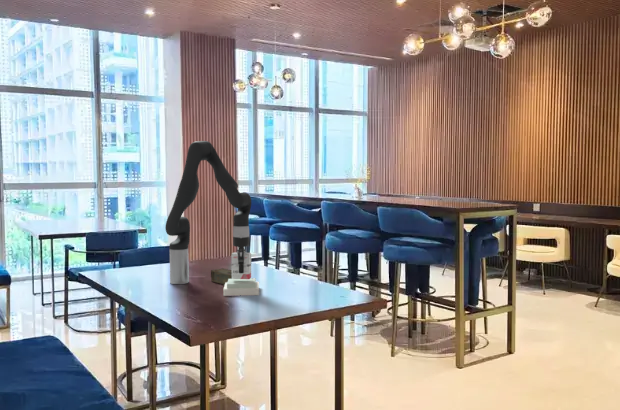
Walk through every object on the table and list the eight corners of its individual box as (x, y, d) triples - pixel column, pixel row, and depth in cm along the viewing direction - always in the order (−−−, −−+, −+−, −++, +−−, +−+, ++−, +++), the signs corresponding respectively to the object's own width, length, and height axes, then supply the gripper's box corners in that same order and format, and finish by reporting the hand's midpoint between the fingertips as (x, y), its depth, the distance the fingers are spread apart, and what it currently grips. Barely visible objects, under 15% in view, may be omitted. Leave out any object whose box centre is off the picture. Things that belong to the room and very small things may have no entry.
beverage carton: (232, 287, 272) (232, 273, 272) (210, 281, 286) (209, 269, 285) (245, 285, 277) (245, 271, 277) (223, 279, 291) (222, 267, 291)
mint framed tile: (225, 288, 268) (225, 278, 267) (259, 287, 269) (259, 277, 269) (223, 295, 252) (223, 284, 252) (259, 295, 253) (259, 284, 253)
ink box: (251, 277, 262) (251, 252, 262) (249, 279, 257) (249, 253, 257) (233, 277, 263) (233, 251, 262) (231, 279, 258) (230, 253, 257)
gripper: (233, 234, 266) (234, 269, 267) (232, 237, 252) (232, 275, 253) (249, 234, 266) (249, 269, 267) (249, 237, 252) (249, 274, 253)
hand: (241, 271), depth 260 cm, fingers closed on ink box, 5 cm apart
